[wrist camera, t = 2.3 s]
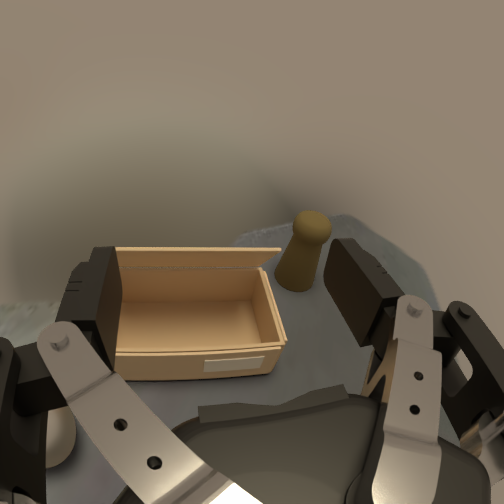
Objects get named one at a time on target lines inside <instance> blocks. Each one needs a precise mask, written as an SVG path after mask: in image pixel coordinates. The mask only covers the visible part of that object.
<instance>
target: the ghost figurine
mask: <svg viewBox="0 0 504 504" xmlns="http://www.w3.org/2000/svg"><path fill="white" fill-rule="evenodd" d="M75 439H76V425H75V420H74V416H73V414H72V411H71V409H70V407H69V406H66V407H62V408H58V409H54V410H50V411H48V423H47V439H46V468H50V467H53V466H56V465H58V464H60V463H61V462H63V461H64V460H65V459H66V458H67V457H68V456H69V454H70V453H71V451H72V449H73V447H74V444H75Z"/></svg>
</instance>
